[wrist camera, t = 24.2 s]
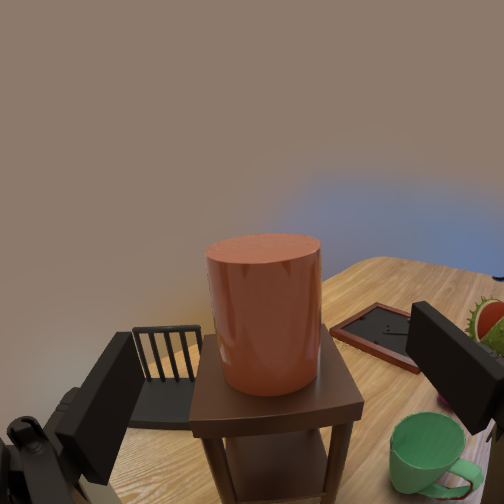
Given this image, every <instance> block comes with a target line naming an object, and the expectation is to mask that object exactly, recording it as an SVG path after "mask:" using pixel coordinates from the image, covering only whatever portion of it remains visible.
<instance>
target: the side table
mask: <svg viewBox="0 0 504 504" xmlns="http://www.w3.org/2000/svg"><path fill="white" fill-rule="evenodd" d="M363 406H364V400H363V398H362V396H361V394H360V392H359V390H358V388H357V386H356V384H355V382H354V380H353V378H352V376H351V374H350V372H349V370H348V368H347V366H346V364H345V362H344V360H343V358H342V356H341V354H340V353H339V351H338V349H337V347H336V345H335V343H334V341H333V339H332V337H331V335H330V333H329V331H328V330H327V328H326V326H325V324H321V353H320V369H319V372H318V374H317V376H316V377H315V378H314V380H313V381H312V382H311V383H309V384H308V385H307V386H305V387H303V388H302V389H300V390H298V391H295V392H292V393H289V394H285V395H280V396H271V397H264V396H254V395H249V394H246V393H243V392H240V391H238V390H236V389H235V388H233V387H232V386H230V385H229V384H228V383H227V382H226V380H225V379H224V377H223V374H222V370H221V364H220V358H219V351H218V345H217V339H216V334H210V335H204V340H203V344H202V349H201V355H200V360H199V365H198V371H197V376H196V382H195V387H194V393H193V398H192V404H191V410H190V416H189V423H190V426H191V429H192V432H193V436H194V438H201V442H202V445H203V448H204V451H205V454H206V458H207V461H208V464H209V467H210V470H211V473H212V476H213V479H214V482H215V484H216V487H217V490H218V493H219V496H220V498H221V501H222V504H268V503H278V502H287V501H295V500H302V499H309V498H315V497H320V496H321V500H320V504H335V500H336V497H337V493H338V489H339V486H340V482H341V478H342V474H343V470H344V465H345V461H346V457H347V452H348V448H349V443H350V438H351V433H352V428H353V423H354V421H358V420H361V416H362V411H363ZM328 426H332V433H331V441H330V448H329V454H328V458H327V455H326V451H325V448H324V445H323V441H322V438H321V434H320V431H319V428H322V427H328ZM222 438H225V442H226V448H224V444H223V440H222Z"/></svg>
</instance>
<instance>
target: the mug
mask: <svg viewBox="0 0 504 504" xmlns="http://www.w3.org/2000/svg"><path fill="white" fill-rule="evenodd" d="M465 441H466V438H465V434H464V430H463V429H462V427H461V426H460V424H459V423H458V422H457V421H455V420H454V419H453V418H451V417H449V416H447V415H445V414H442V413H437V412H431V411H430V412H419V413H415V414H411V415H409V416H407V417H406V418H404V419H402V420H401V421H400V422H399V423H398V424H397V425H396V426H395V428H394V430H393V433H392V435H391V438H390V460H389V462H390V476H391V480H392V483H393V486H394V488H395V489H396V490H397V491H398V492H400V493H404V494H412V493H415V492H417V493H420V494H423V495H425V496H428V497H431V498H434V499H437V500H463V499H465V498H466V497H467V496H469V495H470V494H471V493H472V492H473V491H474V490H476V489H477V488H478V487H479V486H480V485H481V484H482V482H483V474H482V469H481V468H480V467H478V466H477V465H475V464H473V463H471V462H468V461H466V460H463V459H461V458H459V457H460V455H461V453H462V452H463V450H464V448H465ZM445 471H448V472H451V473H453V474H455V475H458V476H460V477H462V478H464V479H465V480H467V481H468V482H470V485H469V486H463V487H457V488H447V487H444V486H440V485H437V484H434V483H433V482H434V481H435V480H437V479H438V478H439V477H440V476H441V475H442V474H443V473H444V472H445Z"/></svg>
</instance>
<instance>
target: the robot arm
mask: <svg viewBox="0 0 504 504" xmlns="http://www.w3.org/2000/svg"><path fill="white" fill-rule="evenodd" d="M405 352H406V353H407V354H408V355H409V357H410V358H411V359H412V360H413V361H414V363H415V364H416V365H417V366H418V367H419V369H420V370H421V371H422V372H423V374H424V375H425V376H426V377H427V378H428V380H429V381H430V382H431V383H432V385H433V386H434V387H435V388H436V390H437V391H438V392H439V393H440V395H441V396H442V397H443V398H444V400H445V401H446V402H447V404H448V405H449V406H450V407H451V409H452V410H453V411H454V413H455V414H456V415H457V416H458V418H459V419H460V420H461V422H462V423H463V424H464V426H465V427H466V428H467V430H468V431H469V432H470V433H471V435H472V436H473V435H475V434H477V433H479V432H481V431H483V430H485V429H486V428H487V426H488V424H489V422H490V420H491V418H493V420H494V421H495V422H496V423H495V425H494V427H493V428H492V430H491V432H490V434H489V436H488V437H487V440H486V442H488V441H489V440H490V438H491V437H492V441H491V450H490V457H489V463H488V469H487V475H486V480H485V485H484V490H483V495H482V499H481V503H480V504H504V360H503V359H502V358H500V357H499V355H497V354H496V353H494V351H493V350H492V349H490V348H489V347H488V346H487V345H485V344H482V343H480V342H478V341H476V342H475V341H474V340H472V339H471V338H470V337H469V336H468V335H466V334H465V333H464V332H463V331H462V330H460V329H459V328H458V327H457V326H456V325H454V324H453V323H452V322H451V321H450V320H448V319H447V318H446V317H445V316H443V315H442V314H441V313H440V312H438V311H437V310H436V309H435V308H433V307H432V306H431V305H430V304H428V303H427V302H426V301H421V302H416V303H412V309H411V317H410V323H409V330H408V336H407V342H406V348H405ZM145 380H146V379H145V376H144V373H143V370H142V367H141V364H140V360H139V357H138V353H137V350H136V346H135V343H134V339H133V336H132V332H116V334H115V335H114V337H113V338H112V340H111V341H110V343H109V344H108V346H107V347H106V349H105V350H104V352H103V353H102V355H101V356H100V358H99V359H98V361H97V363H96V364H95V365H94V367H93V368H92V370H91V372H90V373H89V375H88V376H87V378H86V379H85V381H84V382H83V384H82V386H81V388H78V387H74V388H72V389H71V390H70V391H68V392H67V393H66V394H65V395H64V397H63V398H62V400H61V401H60V404H58V406H57V407H56V409H55V411H54V412H53V414H52V415H51V417H50V419H49V420H48V422H47V423H46V425H45V426H44V428H43V429H42V428H41V426H40V425H39V423H38V421H37V420H36V419H35V418H33V417H31V416H23V417H19V418H17V419H15V420H14V421H13V422H11V424H10V425H9V426H8V428H7V435H8V437H9V438H10V440H11V441H12V443H13V444H14V445H5V443H4V442H3V441H2V439H1V438H0V504H92V503H91V502H90V499H89V498H88V496H87V494H86V492H85V490H84V488H83V486H82V485H81V483H80V482H79V479H80V476H81V474H83V475H84V477H85V478H86V479H87V481H88V482H91V483H95V484H100V485H105V486H107V484H108V481H109V478H110V475H111V472H112V469H113V466H114V463H115V461H116V458H117V455H118V452H119V449H120V446H121V443H122V441H123V438H124V435H125V432H126V430H127V427H128V424H129V422H130V419H131V416H132V413H133V411H134V408H135V405H136V403H137V400H138V398H139V395H140V392H141V390H142V387H143V385H144V382H145Z"/></svg>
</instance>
